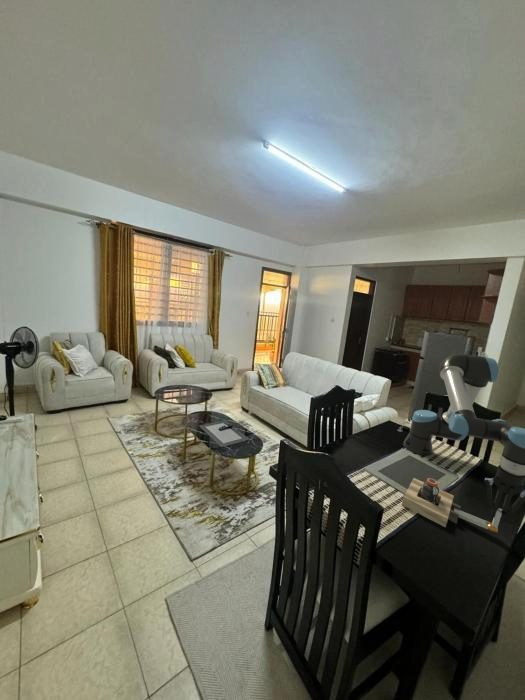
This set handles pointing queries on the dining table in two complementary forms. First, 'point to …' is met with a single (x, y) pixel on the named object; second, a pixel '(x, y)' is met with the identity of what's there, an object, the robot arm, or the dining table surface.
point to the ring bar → (476, 520)
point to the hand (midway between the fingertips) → (494, 524)
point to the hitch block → (428, 509)
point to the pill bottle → (430, 491)
